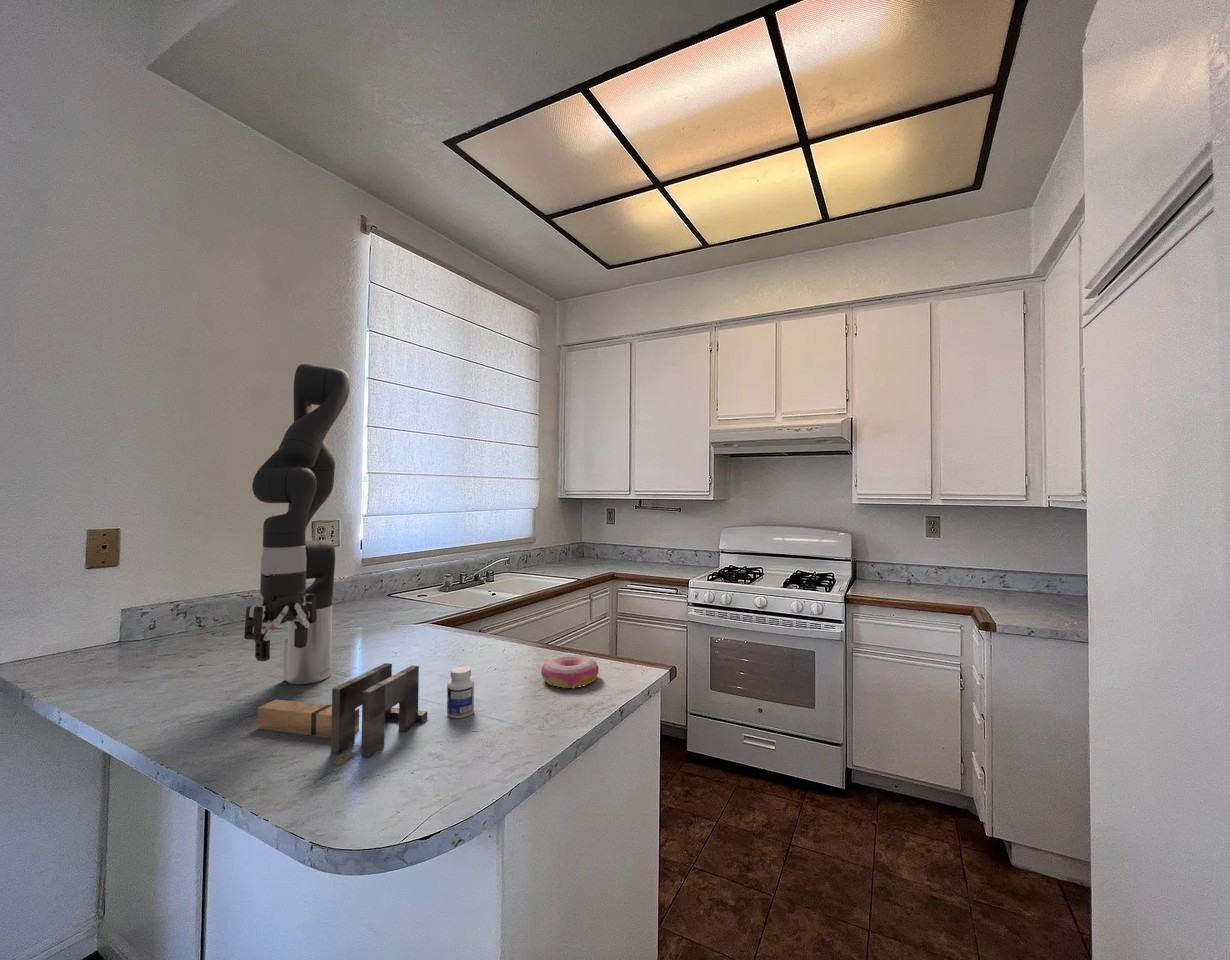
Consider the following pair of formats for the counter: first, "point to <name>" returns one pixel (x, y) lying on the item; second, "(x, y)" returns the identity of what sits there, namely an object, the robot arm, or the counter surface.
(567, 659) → the donut
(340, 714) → the dark two-tier wooden rack
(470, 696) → the pill bottle
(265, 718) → the tall wooden block
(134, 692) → the counter surface
